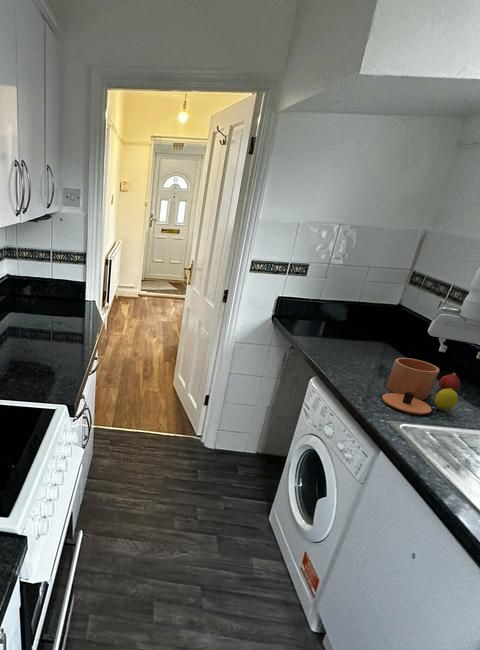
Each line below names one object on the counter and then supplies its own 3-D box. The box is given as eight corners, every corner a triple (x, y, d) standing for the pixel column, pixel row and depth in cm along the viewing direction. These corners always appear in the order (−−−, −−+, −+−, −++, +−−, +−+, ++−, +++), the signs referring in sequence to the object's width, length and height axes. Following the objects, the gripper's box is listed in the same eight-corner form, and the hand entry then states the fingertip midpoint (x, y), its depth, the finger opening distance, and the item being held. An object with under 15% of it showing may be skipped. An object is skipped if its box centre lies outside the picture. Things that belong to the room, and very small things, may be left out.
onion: (437, 387, 153) (447, 368, 149) (456, 394, 149) (466, 374, 146) (433, 391, 149) (442, 371, 146) (452, 398, 145) (462, 378, 142)
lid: (428, 403, 140) (433, 391, 138) (432, 420, 129) (438, 407, 128) (381, 392, 147) (385, 380, 145) (381, 407, 136) (386, 394, 134)
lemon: (435, 412, 135) (446, 391, 131) (427, 404, 139) (437, 383, 136) (454, 415, 134) (465, 394, 130) (445, 407, 138) (456, 386, 135)
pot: (426, 390, 151) (437, 363, 146) (429, 403, 141) (441, 375, 136) (385, 380, 156) (395, 355, 152) (386, 392, 147) (396, 365, 142)
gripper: (437, 308, 127) (421, 350, 132) (526, 321, 117) (504, 366, 123) (435, 304, 132) (419, 344, 137) (520, 316, 122) (499, 359, 128)
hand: (460, 355), depth 130 cm, fingers open, 8 cm apart
